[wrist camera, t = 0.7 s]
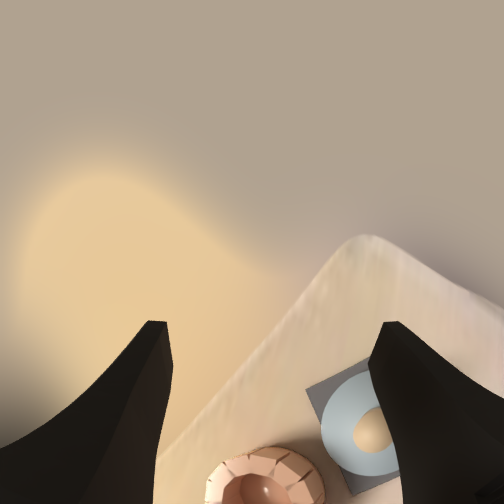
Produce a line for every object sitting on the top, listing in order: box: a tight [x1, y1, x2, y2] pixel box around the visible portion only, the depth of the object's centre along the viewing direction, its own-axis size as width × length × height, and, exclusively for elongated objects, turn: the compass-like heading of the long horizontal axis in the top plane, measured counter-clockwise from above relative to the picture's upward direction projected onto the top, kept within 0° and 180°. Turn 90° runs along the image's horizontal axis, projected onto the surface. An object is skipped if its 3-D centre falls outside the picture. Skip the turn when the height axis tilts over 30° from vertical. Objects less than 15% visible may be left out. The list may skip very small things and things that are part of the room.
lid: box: [321, 370, 399, 476], centre depth 17 cm, size 8×8×5 cm
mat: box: [305, 357, 400, 496], centre depth 19 cm, size 10×8×1 cm
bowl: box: [205, 447, 325, 504], centre depth 18 cm, size 8×8×4 cm
